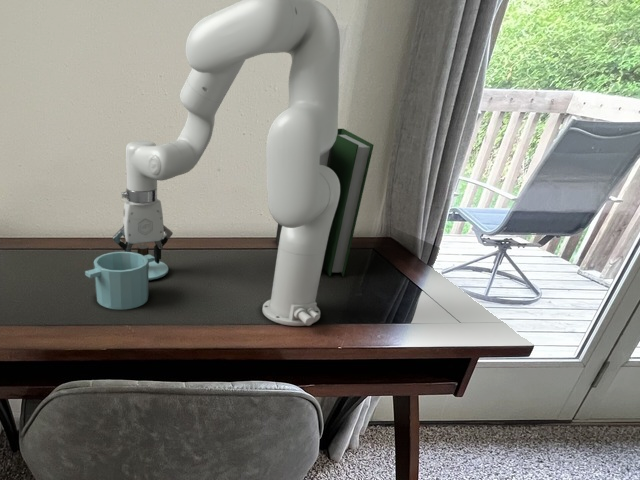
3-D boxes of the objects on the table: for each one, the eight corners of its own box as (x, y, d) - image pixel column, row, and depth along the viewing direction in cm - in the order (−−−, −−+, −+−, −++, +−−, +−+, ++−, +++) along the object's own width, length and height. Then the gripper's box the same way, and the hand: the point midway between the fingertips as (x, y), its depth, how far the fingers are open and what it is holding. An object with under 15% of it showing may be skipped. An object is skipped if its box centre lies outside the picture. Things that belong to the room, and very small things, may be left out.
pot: (167, 297, 116) (167, 260, 111) (103, 317, 107) (101, 278, 102) (138, 280, 125) (137, 245, 120) (77, 298, 116) (74, 261, 111)
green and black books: (346, 276, 125) (377, 144, 107) (289, 275, 126) (310, 145, 108) (321, 241, 148) (343, 128, 130) (273, 241, 149) (288, 129, 131)
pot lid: (178, 274, 128) (179, 248, 124) (136, 286, 121) (135, 260, 118) (149, 259, 137) (149, 235, 133) (109, 270, 131) (107, 245, 127)
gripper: (111, 202, 113) (114, 272, 123) (180, 196, 117) (178, 264, 127) (105, 194, 119) (109, 262, 129) (170, 189, 123) (169, 255, 133)
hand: (143, 262), depth 128 cm, fingers open, 6 cm apart
